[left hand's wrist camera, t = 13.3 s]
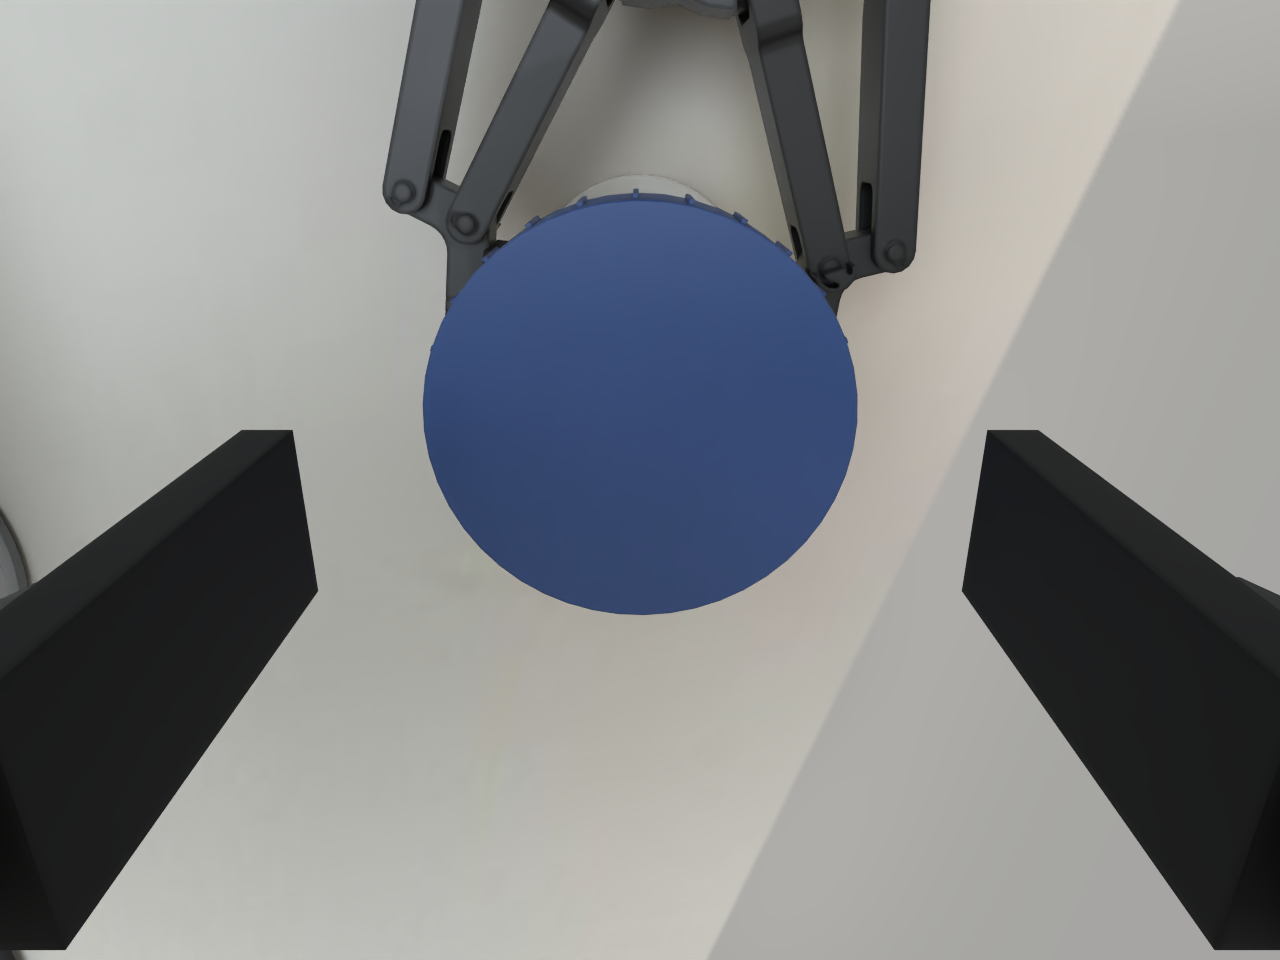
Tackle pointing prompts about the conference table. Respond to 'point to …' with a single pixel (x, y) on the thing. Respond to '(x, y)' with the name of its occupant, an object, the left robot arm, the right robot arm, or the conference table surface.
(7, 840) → the left robot arm
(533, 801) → the conference table surface
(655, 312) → the lid
